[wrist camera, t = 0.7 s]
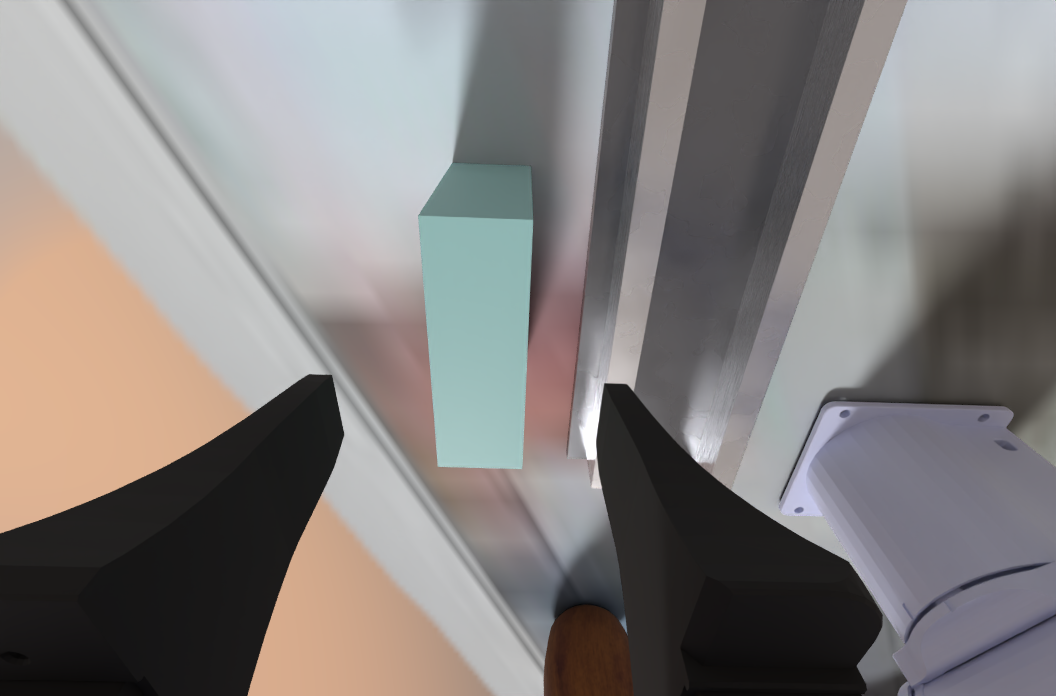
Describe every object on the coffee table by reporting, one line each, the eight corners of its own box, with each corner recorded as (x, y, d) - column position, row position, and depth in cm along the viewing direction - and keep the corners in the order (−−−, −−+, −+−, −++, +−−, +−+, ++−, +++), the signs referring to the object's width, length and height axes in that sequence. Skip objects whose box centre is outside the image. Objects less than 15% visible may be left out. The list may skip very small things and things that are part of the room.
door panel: (531, 165, 19) (533, 219, 13) (523, 362, 24) (522, 469, 18) (452, 162, 19) (417, 215, 13) (460, 360, 23) (437, 466, 17)
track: (915, -75, 15) (981, -96, 13) (732, 455, 27) (751, 492, 24) (623, -89, 15) (640, -114, 13) (566, 450, 26) (570, 487, 24)
